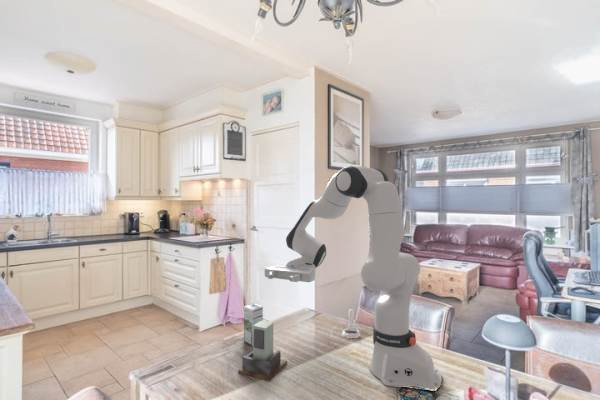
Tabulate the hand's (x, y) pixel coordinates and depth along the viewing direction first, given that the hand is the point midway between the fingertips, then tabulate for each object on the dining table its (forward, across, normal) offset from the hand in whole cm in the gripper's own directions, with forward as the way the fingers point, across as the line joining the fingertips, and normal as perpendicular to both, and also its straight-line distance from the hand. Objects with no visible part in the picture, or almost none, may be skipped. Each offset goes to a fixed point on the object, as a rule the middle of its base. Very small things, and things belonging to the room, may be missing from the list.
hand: (280, 278), depth 119 cm
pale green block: (+12, 0, +27) cm, 30 cm away
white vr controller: (-26, +20, +28) cm, 44 cm away
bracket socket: (+12, 0, +28) cm, 31 cm away
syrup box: (-3, -14, +28) cm, 32 cm away
